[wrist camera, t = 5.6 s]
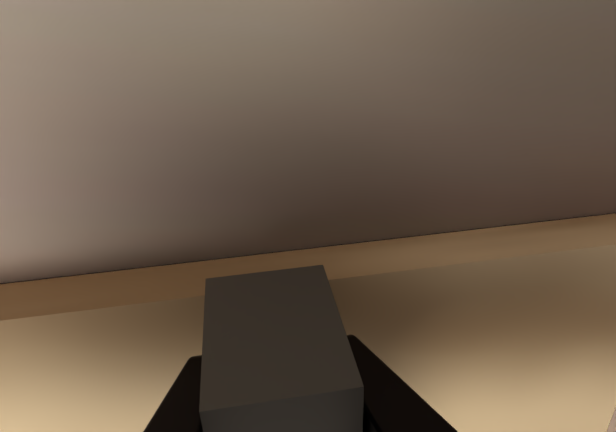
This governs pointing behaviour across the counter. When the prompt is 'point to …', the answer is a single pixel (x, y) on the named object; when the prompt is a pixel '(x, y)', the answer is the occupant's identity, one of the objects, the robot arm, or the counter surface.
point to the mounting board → (356, 320)
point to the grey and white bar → (277, 356)
